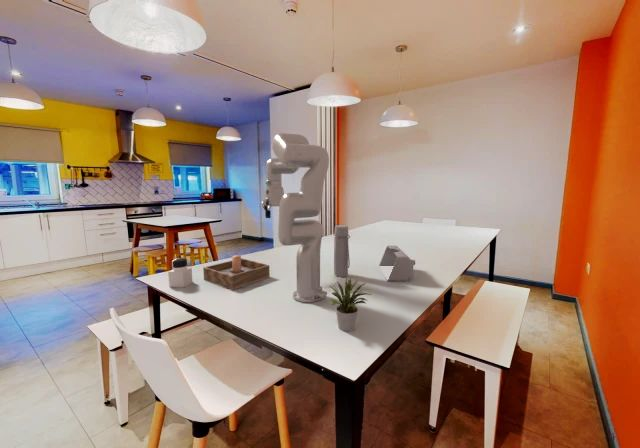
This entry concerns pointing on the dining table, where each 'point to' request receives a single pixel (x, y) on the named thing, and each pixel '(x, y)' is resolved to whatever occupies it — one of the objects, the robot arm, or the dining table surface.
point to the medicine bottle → (180, 273)
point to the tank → (397, 264)
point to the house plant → (347, 305)
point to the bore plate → (230, 270)
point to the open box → (236, 280)
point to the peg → (236, 264)
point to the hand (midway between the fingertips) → (275, 217)
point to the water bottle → (341, 251)
